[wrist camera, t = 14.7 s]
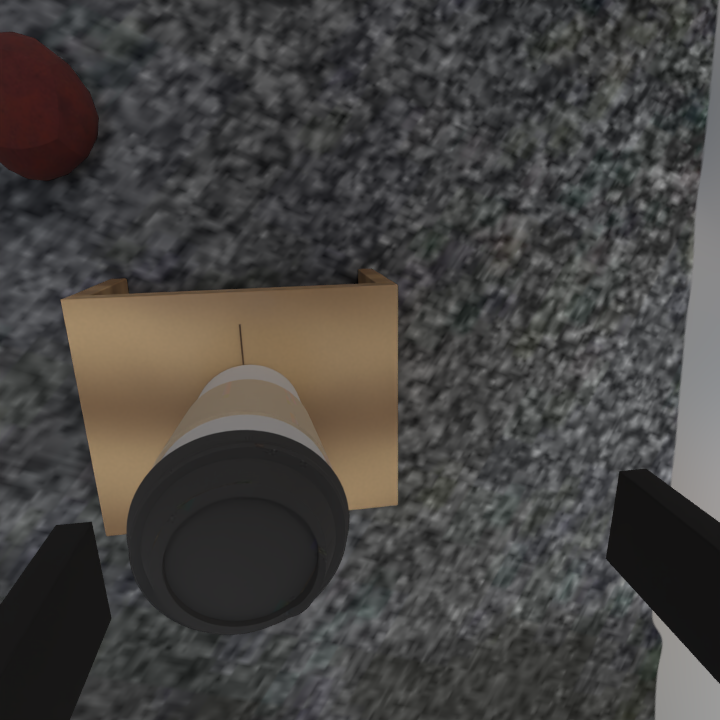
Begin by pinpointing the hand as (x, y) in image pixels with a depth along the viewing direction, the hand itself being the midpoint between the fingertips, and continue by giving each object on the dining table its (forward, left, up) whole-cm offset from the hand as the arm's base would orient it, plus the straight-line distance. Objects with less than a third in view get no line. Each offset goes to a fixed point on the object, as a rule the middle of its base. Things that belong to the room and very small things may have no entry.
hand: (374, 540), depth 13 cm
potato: (-14, -17, -30) cm, 37 cm away
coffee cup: (+5, -5, -21) cm, 22 cm away
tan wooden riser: (+5, -5, -30) cm, 31 cm away
